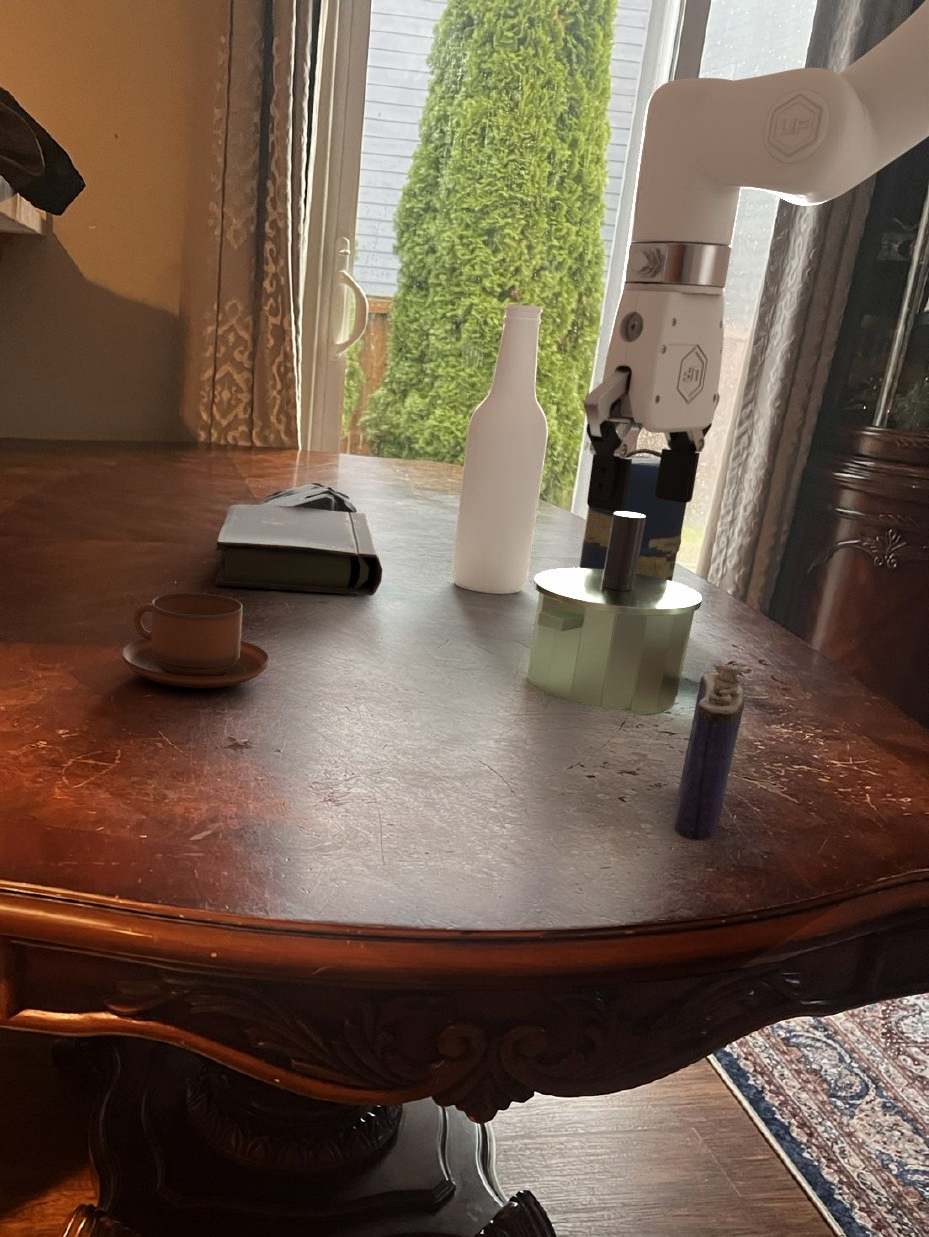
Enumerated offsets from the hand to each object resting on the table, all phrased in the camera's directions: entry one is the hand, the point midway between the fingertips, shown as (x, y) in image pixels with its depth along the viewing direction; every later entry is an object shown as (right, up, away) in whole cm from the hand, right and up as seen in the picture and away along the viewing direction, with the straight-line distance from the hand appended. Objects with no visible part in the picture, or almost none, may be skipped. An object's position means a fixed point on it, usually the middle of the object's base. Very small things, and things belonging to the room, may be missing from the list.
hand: (640, 504), depth 95 cm
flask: (-1, -26, -18) cm, 31 cm away
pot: (-2, -14, +7) cm, 16 cm away
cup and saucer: (-36, -14, +3) cm, 39 cm away
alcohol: (-7, +1, +41) cm, 42 cm away
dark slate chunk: (-28, +17, +72) cm, 79 cm away
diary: (-29, +3, +43) cm, 52 cm away
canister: (+5, -6, +27) cm, 29 cm away
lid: (-1, -7, +3) cm, 8 cm away
